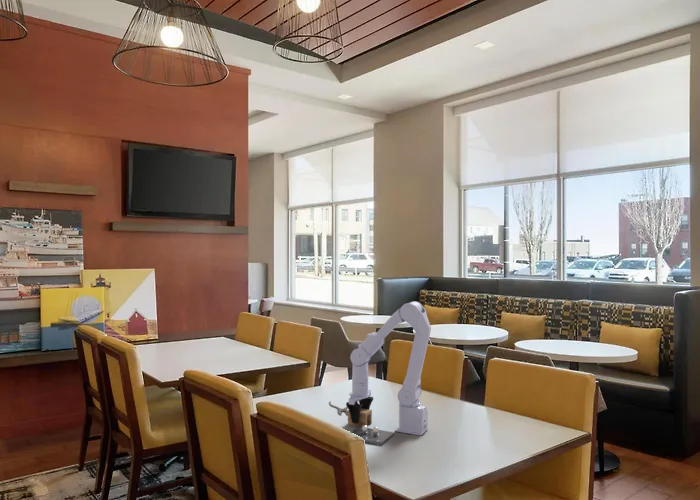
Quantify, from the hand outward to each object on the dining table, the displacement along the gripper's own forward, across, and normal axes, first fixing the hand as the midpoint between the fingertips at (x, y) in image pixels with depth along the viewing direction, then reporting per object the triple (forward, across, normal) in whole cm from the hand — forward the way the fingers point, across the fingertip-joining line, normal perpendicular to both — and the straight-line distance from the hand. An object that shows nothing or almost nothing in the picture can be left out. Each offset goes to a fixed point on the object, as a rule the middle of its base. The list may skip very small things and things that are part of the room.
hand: (359, 420), depth 191 cm
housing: (+2, 0, 0) cm, 2 cm away
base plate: (+1, +11, +9) cm, 14 cm away
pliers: (+2, -16, -14) cm, 21 cm away
